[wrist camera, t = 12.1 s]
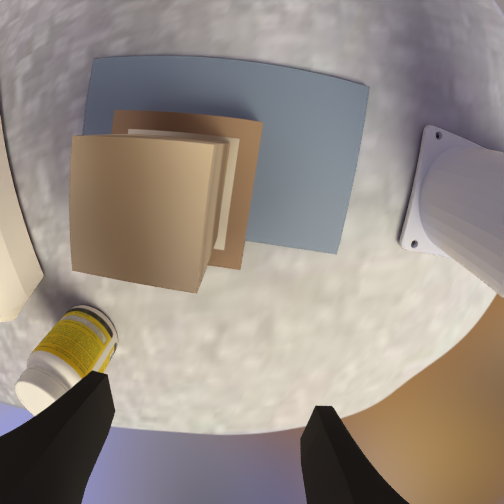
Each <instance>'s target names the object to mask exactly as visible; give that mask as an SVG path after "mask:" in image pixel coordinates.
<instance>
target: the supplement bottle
mask: <svg viewBox="0 0 504 504" xmlns="http://www.w3.org/2000/svg"><path fill="white" fill-rule="evenodd" d="M117 345H118V337H117V333H116V331H115V328H114V326H113V325H112V323H111V322H110V320H109V319H108V318H107V317H106V316H105V315H104V314H103V313H101V312H100V311H98V310H97V309H95V308H92V307H89V306H84V305H80V306H75V307H73V308H71V309H70V310H69V311H68V312H67V313H66V314H65V315H64V316H63V317H62V318H61V319H60V320H59V322H58V323H57V324H56V325H55V326H54V327H53V329H52V330H51V331H50V332H49V333H48V334H47V335H46V337H45V338H44V339H43V340H42V341H41V342H40V344H39V345H38V346H37V347H36V348H35V349H34V351H33V352H32V353H31V354H30V356H29V358H28V361H27V369H26V370H25V371H24V372H23V373H22V375H21V376H20V378H19V379H18V381H17V382H16V385H15V391H16V394H17V396H18V398H19V400H20V401H21V403H22V404H23V405H24V406H25V407H26V408H27V410H28V411H30V412H31V413H32V414H33V415H34V416H36V415H37V414H39V413H40V412H41V411H43V410H44V409H46V408H47V407H48V406H50V405H51V404H52V403H53V402H55V401H56V400H57V399H58V398H60V397H61V396H62V395H63V394H65V393H66V392H67V391H68V390H69V389H71V388H72V387H73V386H74V385H75V384H76V383H78V382H79V381H80V380H81V379H82V378H83V377H85V376H86V375H87V374H88V373H89V372H91V371H92V370H93V371H97V372H100V373H103V372H104V370H105V369H106V367H107V365H108V363H109V362H110V360H111V358H112V356H113V354H114V352H115V351H116V349H117Z"/></svg>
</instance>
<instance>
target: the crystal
mask: <svg viewBox="0 0 504 504" xmlns="http://www.w3.org/2000/svg"><path fill="white" fill-rule="evenodd" d="M43 276H44V275H43V273H42V270H41V268H40V265H39V263H38V260H37V257H36V255H35V252H34V249H33V246H32V244H31V241H30V238H29V235H28V232H27V229H26V226H25V223H24V220H23V217H22V213H21V210H20V206H19V203H18V199H17V196H16V192H15V188H14V184H13V180H12V176H11V172H10V167H9V163H8V158H7V153H6V148H5V143H4V137H3V131H2V124H1V117H0V322H6V321H13V320H15V319H16V317H17V316H18V314H19V312H20V311H21V309H22V308H23V307H24V305H25V304H26V302H27V301H28V299H29V298H30V296H31V295H32V293H33V291H34V290H35V288H36V287H37V285H38V284H39V282H40V281H41V279H42V278H43Z"/></svg>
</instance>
